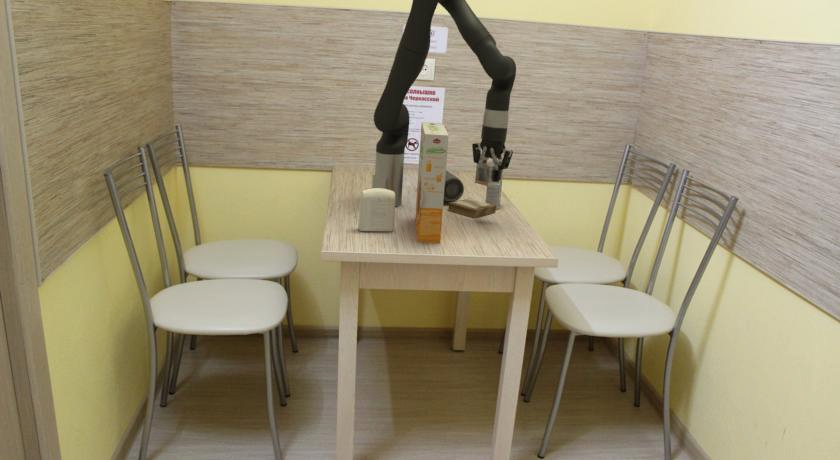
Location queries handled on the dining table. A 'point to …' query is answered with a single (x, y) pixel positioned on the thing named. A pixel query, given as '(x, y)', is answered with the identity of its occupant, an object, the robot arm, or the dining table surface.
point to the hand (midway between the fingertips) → (488, 179)
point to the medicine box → (494, 195)
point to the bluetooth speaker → (452, 188)
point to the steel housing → (486, 174)
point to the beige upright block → (377, 210)
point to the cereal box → (431, 181)
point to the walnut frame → (471, 208)
